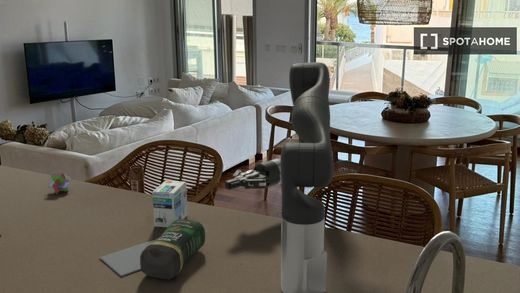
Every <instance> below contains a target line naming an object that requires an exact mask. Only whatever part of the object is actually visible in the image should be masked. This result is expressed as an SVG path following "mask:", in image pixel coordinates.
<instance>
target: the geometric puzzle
mask: <svg viewBox="0 0 520 293" xmlns="http://www.w3.org/2000/svg"><path fill="white" fill-rule="evenodd" d="M59 174H60V175H56V174H54V175H50V176H51V177H50V179H51V182H50V183H48V184H47V185H48V186H47V188H51V190H52V189H53V190H54V193H55V196H56V195H58V194H59V193H60V194H62V193H61V192H64V193H66V192H69V189H68V188H69V187H68V186H69V184H71V182H72V178H71V176H69V174H66V173H64V172H62V173H59ZM60 194H59V195H60Z"/></svg>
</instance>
